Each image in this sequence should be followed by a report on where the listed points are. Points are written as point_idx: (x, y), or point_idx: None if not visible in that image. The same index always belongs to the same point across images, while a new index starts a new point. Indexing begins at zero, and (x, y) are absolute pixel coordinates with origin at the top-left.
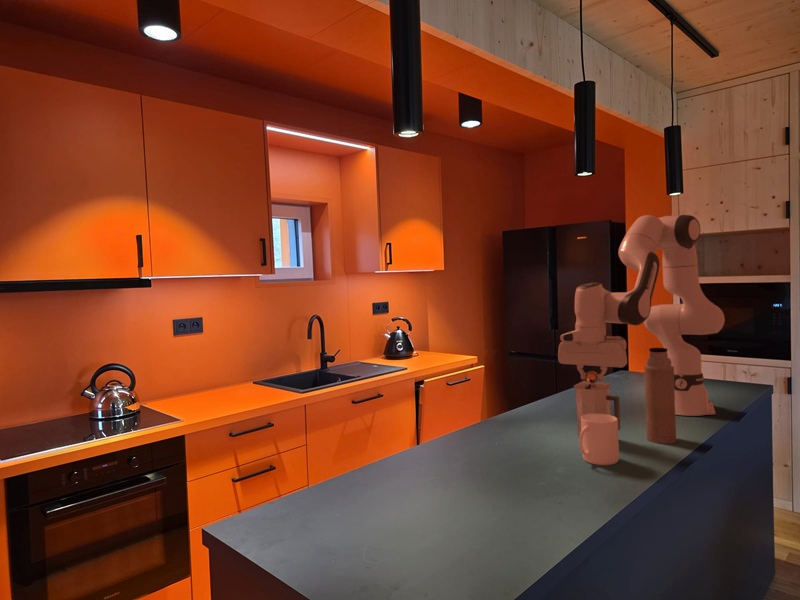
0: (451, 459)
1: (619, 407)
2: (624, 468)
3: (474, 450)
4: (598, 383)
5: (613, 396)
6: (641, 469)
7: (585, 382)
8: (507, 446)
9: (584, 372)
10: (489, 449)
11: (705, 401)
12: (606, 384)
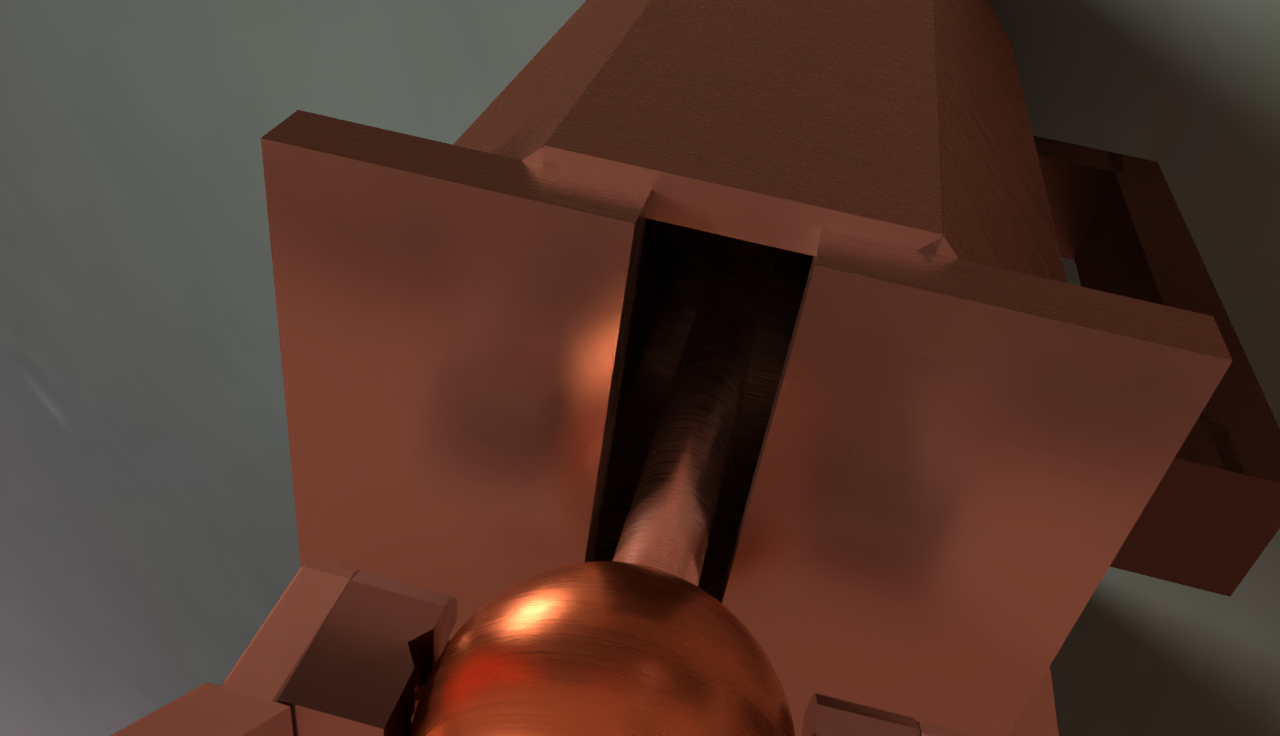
0: (58, 692)
1: (1237, 343)
2: (1068, 716)
3: (45, 561)
4: (798, 469)
5: (1161, 513)
6: (1198, 720)
7: (415, 383)
8: (162, 457)
9: (273, 719)
10: (105, 531)
11: None
12: (1041, 570)
